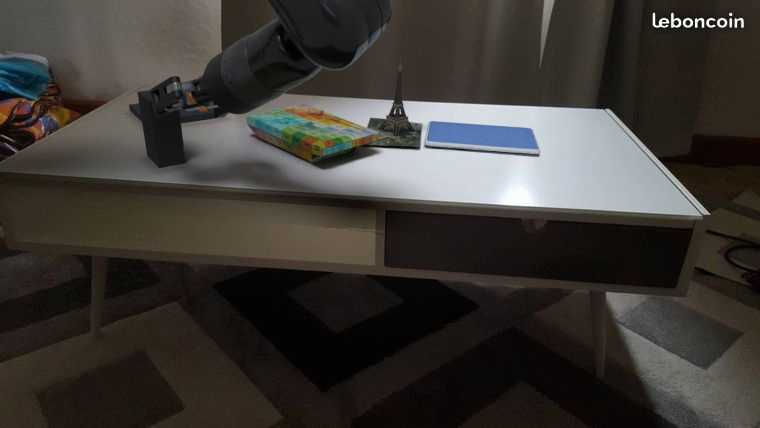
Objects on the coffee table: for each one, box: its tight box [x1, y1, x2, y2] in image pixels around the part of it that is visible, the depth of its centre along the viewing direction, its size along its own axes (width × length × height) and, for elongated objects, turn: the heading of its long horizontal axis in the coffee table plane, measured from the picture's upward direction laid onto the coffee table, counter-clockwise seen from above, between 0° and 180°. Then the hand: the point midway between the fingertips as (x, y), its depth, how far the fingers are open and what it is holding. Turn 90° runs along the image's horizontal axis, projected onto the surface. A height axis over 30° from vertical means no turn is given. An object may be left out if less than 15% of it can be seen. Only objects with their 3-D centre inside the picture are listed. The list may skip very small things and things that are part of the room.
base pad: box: [128, 93, 226, 124], centre depth 107 cm, size 14×12×3 cm
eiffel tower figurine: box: [362, 58, 423, 148], centre depth 99 cm, size 15×10×13 cm
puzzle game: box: [245, 103, 380, 163], centre depth 94 cm, size 12×5×20 cm
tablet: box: [423, 120, 541, 155], centre depth 100 cm, size 19×13×1 cm, turn 83°
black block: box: [136, 89, 187, 169], centre depth 85 cm, size 4×6×10 cm, turn 36°
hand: (187, 110), depth 78 cm, fingers open, 8 cm apart
